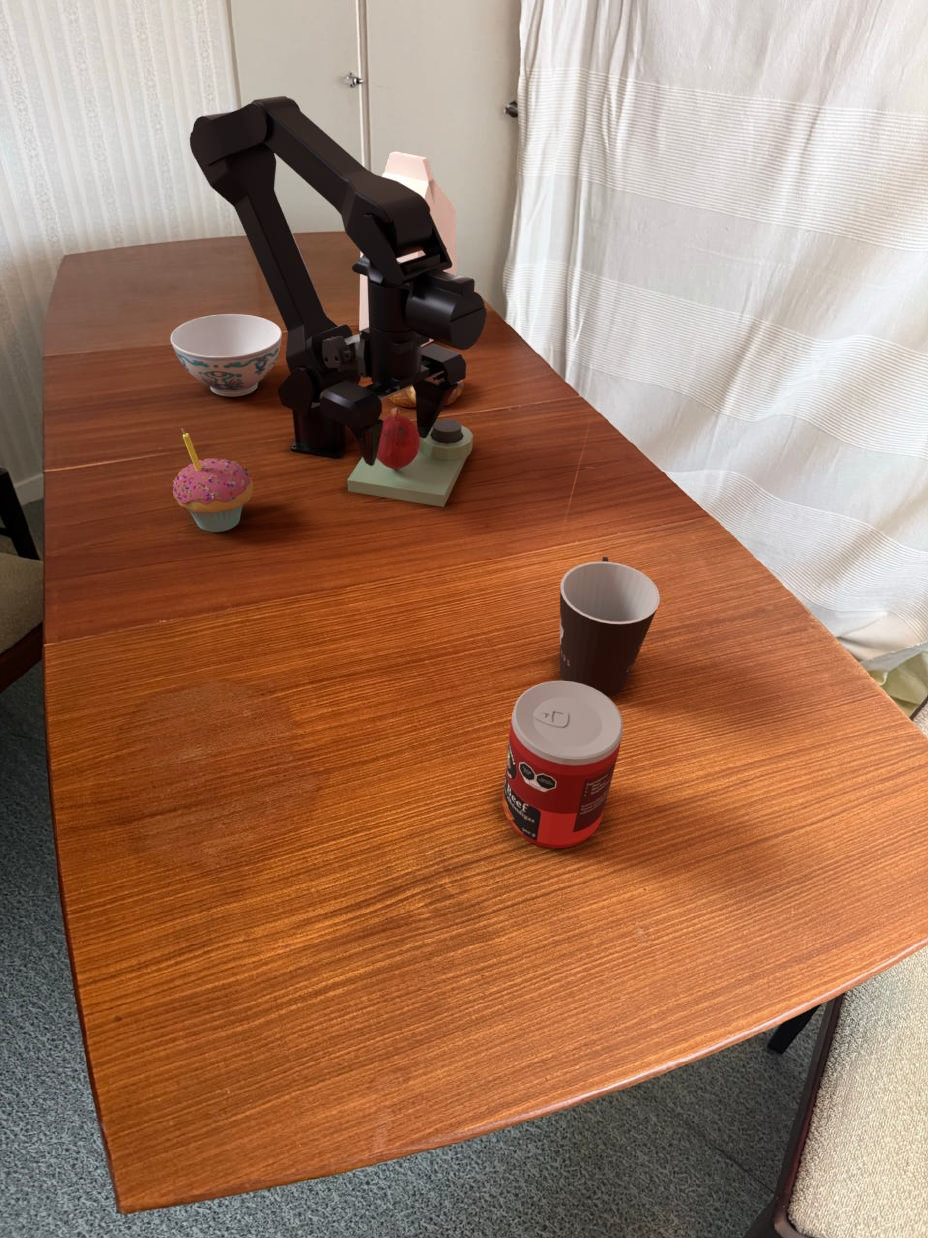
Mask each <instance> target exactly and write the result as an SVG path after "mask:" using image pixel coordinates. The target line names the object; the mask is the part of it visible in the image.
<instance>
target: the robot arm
mask: <svg viewBox="0 0 928 1238" xmlns="http://www.w3.org/2000/svg"><path fill="white" fill-rule="evenodd" d="M189 135H190V136H189V147H190V150H191V153H192V156H193V157H194V159H195V160H196V161H195V162H196V163H197V165H198V167H199V168H200V170H201V172H202V174H203V176H204V177H205V179H206V181H207V183H208V184H209V186H210V188H212V189H213V190H214V191H215V192H216V193H217V194H218V195H220V196H221V197H222V198H223V199H224V200H225V201H227V202H228V203H229V204H230V205H231V206H232V207H233V208H234V210H235V212H236V214H237V217H238V219H239V221H240V224H241V226H242V228H243V230H244V233H245V236H246V238H247V240H248V242H249V245H250V247H251V250H252V251H253V254H254V257H255V258H256V261H257V263H258V265H259V268H260V270H261V272H262V275H263V277H264V279H265V282H266V285H267V286H268V289H269V291H270V294H271V295H272V298H273V300H274V303H275V305H276V307H277V310H278V312H279V314H280V316H281V319H282V321H283V323H284V326H285V329H286V331H287V335H286V336H287V337H286V348H285V361H286V364H287V367H288V370H289V375H288V376H287V377H286V378H285V379H284V380H283V381H282V382H281V383H280V385H279V386H278V387H277V388H276V391H277V395H278V397H279V401H280V403H281V405H282V406H283V407H285V408H287V409H289V410H291V411H292V412H291V413H292V422H293V423H292V424H293V432H294V433H293V434H294V441H293V443H291V445H290V451H291V452H295V453H301V454H307V455H314V456H320V457H325V458H332V459H337V458H339V457H340V455H342V454H343V451H344V450H345V448H347V447H348V445H349V444H350V443H351V441H352V440H353V439H354V441H355V443H356V445H357V447H358V450H359V453H360V455H361V456H362V457H363V459H364V461H365V463H366V464H368V465H370V466H373V465H374V464H375V460H376V457H377V453H378V448H379V443H380V437H381V433H382V428H383V422H384V421H383V420H382V419H381V418H380V417H381V415H382V413H383V402H382V401H384V400H387V399H390V398H389V397H391V396H393V395H395V394H397V393H400V392H402V391H404V390H406V389H408V388H410V387H412V386H413V388H414V390H415V393H416V407H415V412H416V413H415V414H416V415H415V416H416V429H417V431H418V433H419V437H421V438H426V437H427V436H428V434H429V432H430V430H431V429H432V427H433V425H434V423H435V421H437V420H438V418H439V415H440V414H441V412H442V411H443V409H444V407H445V406H446V405H445V404H446V402H447V401H448V399H449V397H450V396H451V394H452V393H453V391H454V390H455V389H456V388H458V385H459V383H458V382H459V381H461V380H462V381H463V380H466V377H467V376H466V375H467V363H466V361H465V359H464V357H463V355H462V354H461V353H460V352H457V351H454V350H451V349H448V348H446V347H444V346H441V345H438V344H435V343H428V342H429V338H430V339H432V340H433V341H435V342H438V343H440V344H443V345H445V346H448V347H451V348H452V349H453V348H454V349H456V350H459V351H466V350H469V349H470V348H472V347H473V346H474V345H475V344H476V343H477V342H478V340H479V339H480V338H481V335H482V333H483V331H484V328H485V325H486V321H487V311H488V309H487V308H486V307H485V302H484V299H483V296H481V295H480V293H478V292H477V291H475V285H476V284H475V283H476V281H475V279H474V278H472V277H469V276H465V275H457V276H456V275H453V274H450V273H447V272H444V270H446V269H449V268H451V267H452V261H451V259H450V257H449V255H448V252H447V248H446V247H445V245H444V243H443V241H442V239H441V237H440V234H439V232H438V230H437V228H436V225H435V223H434V221H433V219H432V216H431V214H430V207H429V205H428V203H427V202H426V200H425V199H424V198H423V197H422V196H421V195H420V194H418V193H417V192H415V191H413V190H412V189H410V188H408V187H406V186H405V185H403V184H401V183H400V182H398V181H395V180H392V179H388V178H385V177H382V175H378V174H375V173H373V172H372V171H370V170H369V169H367V168H366V167H365V166H364V165H363V164H361V163H360V162H359V161H358V160H357V159H355V157H354V156H352V155H351V154H350V153H349V152H348V151H347V150H345V149H344V148H343V147H342V146H341V145H340V144H339V143H338V142H336V141H335V140H334V139H333V138H332V137H331V136H329V134H327V133H326V132H325V130H323V129H322V128H321V127H320V126H318V125H317V124H316V123H314V121H313V120H311V119H310V118H309V117H308V116H307V115H305V114H304V112H303V111H301V109H300V106H299V105H298V103H297V102H296V101H295V99H293V98H290V97H287V95H286V96H285V95H279V96H272V97H264V98H258V99H254V100H252V101H250V103H247V104H246V105H245V106H242V107H241V108H239V109H236V110H232V111H227V112H220V113H213V114H207V115H201V116H199V117H197V118H196V119H195V121H194V122H193V126H192V131H191V132H190V134H189ZM276 156H277V157H278V158H279V159H280V160H281V161H283V163H285V164H286V165H287V166H288V167H289V168H290V169H291V170H292V171H294V172H295V174H297V175H298V176H299V177H300V178H301V179H302V180H304V181H305V182H306V184H308V185H309V186H310V187H311V188H312V189H313V190H315V192H316V193H318V194H319V195H320V196H321V197H322V198H324V199H325V200H326V201H327V203H329V204H330V205H331V206H332V207H333V208H334V209H335V210H336V211H337V212H338V213H339V214H340V216H341V220H342V224H343V229H344V232H345V234H346V235H347V236H348V237H349V239H350V240H351V241H352V243H353V244H354V245H355V246H356V247H357V249H358V250H359V251H361V252H362V253H363V254H364V255H363V256H362V257H361V258H359V259H358V260H357V261H355V262H354V264H352V265H351V270H352V271H353V272H354V273H356V274H359V275H360V274H362V275H364V276H367V284H368V314H369V327H368V328H365V329H363V330H361V331H359V333H357V334H353V330H352V329H351V327H349V325H348V324H347V323H344V324H341V325H338V324H337V323H336V322H335V321H333V320H332V319H331V318H330V317H328V315H327V313H326V312H325V311H326V310H325V309H324V307H323V305H322V302H321V299H320V297H319V294H318V292H317V290H316V287H315V285H314V282H313V280H312V277H311V275H310V273H309V270H308V268H307V265H306V263H305V261H304V258H303V256H302V254H301V251H300V249H299V246H298V244H297V241H296V239H295V237H294V234H293V231H292V229H291V227H290V225H289V222H288V220H287V218H286V215H285V212H284V210H283V207H282V205H281V203H280V200H279V198H278V196H277V193H276V189H275V188H276V178H277V177H276V176H277V166H278V165H277V164H278V161H277V157H276ZM419 251H423V252H424V253H425V255H423V256H420V257H417V258H414V259H411V260H408V261H405V262H399V261H397V258H400V257H403V256H406V255H409V254H412V253H416V252H419ZM425 343H428V344H427V345H425V346H423V347H421V345H423V344H425ZM362 378H364V379H366V378H370V380H371V382H372V383H370V384H367V385H366V386H362V385H361V384H359V383H361V380H362Z"/></svg>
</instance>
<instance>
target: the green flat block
mask: <svg viewBox="0 0 928 1238" xmlns="http://www.w3.org/2000/svg"><path fill="white" fill-rule="evenodd" d="M473 443H474V435H473V433H472V432H471V430H470V429H469V428H467V427H465V426H463V425H461V439H460V441H458V442H456V443H447V444H446V443H440V442H437V441H435V440H433V427H432V429H431V430H430V432H429V434H428V436H427V437H426V438H421V437H420V446H419V451H418V454H417V456H416V457H415V458H414V460H413V461H412V462H411V463H410V464H408V465H407V466H405V467H402V468H400V469H398V470H393V469H391V468H389V467H386V466H385V465H383V464H382V463H381V462H380V461H379V460H378V459H377V458H376V460H375V464H374V465H373V466H370V465H368V464H366V463H365V461H364V459H363V456H362V457H361V458H360V459H359V461H358V463H357V464H356V466H355V467H354V469H353V470H352V472H351V474H350V475H349V477H348V478H347V492H349V493H357V494H364V495H369V496H374V497H380V498H382V497H383V498H387V499H393V500H398V501H399V500H400V501H406V502H411V503H417V504H423V505H429V506H435V507H441V508H444V507H445V505H446V504H447V501H448V499H449V497H450V495H451V492H452V490H453V488H454V486H455V484H456V482H457V480H458V477H459V475H460V473H461V472H462V469H463V466H464V464H465V462H466V461H467V458H468V456H469V455H471V452H472V450H473V446H474V445H473Z"/></svg>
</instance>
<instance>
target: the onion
mask: <svg viewBox="0 0 928 1238" xmlns="http://www.w3.org/2000/svg"><path fill="white" fill-rule="evenodd" d="M381 420H383V421H384V422H383V428H382V433H381V437H380V443H379V448H378V453H377V457H376V458H377V459H378V460H379V461H380V462H381V463H382V464H383V465H385V466H386V467H389V468H391V469H393V470H398V469H400V468H402V467H405V466H407V465H408V464H410V463H411V462H412V461H413V460H414V458H415V457H416V456H417V454H418V451H419V446H420V437H419V433H418V430H417V426H416V425H415V424H414V423H413V422H412V420H410V419H409V418H408V417H406V416H404V415H402V414H401V409H400V408H399V407H393V408H392V409H390V414H389V415H388V416H386V417H384V418H382V419H381Z"/></svg>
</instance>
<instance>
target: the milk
mask: <svg viewBox="0 0 928 1238" xmlns="http://www.w3.org/2000/svg"><path fill="white" fill-rule="evenodd" d="M381 176H382V177H385V178H388V179H392V180H395V181H398V182H400V183H401V184H403V185H405V186H406V187H408V188H410V189H412V190H413V191H415V192H417V193H418V194H420V195H421V196H422V197H423V198H424V199H425V200H426V202H427V203H428V205H429V207H430V214H431V216H432V219H433V221H434V223H435V225H436V228H437V230H438V232H439V234H440V237H441V239H442V241H443V243H444V245H445V247H446V248H447V252H448V255H449V257H450V259H451V261H452V267H451V268H449V269H446V270H444V272H447V273H450V274H453V275H456V276H458V275H457V274H458V273H457V272H458V271H457V216H456V209H455V207H454V205H453V203H452V201H451V200H450V198H449V197H448V196H447V195H446V193H445V192H444V191H443V190H442V188H441V187H440V186H439V184H438V183H437V182H436V181H435V180H434V175H433V171H432V168H431V164H430V161H429V158H428V157H426V156H421V155H415V154H410V153H406V152H401V151H392V152H390V153H389V155H388V158H387V162H386V164H385V168H384V172H383V173H382V175H381ZM359 251H360V250H359ZM359 253H360V256H359V257H360V258H361V257H362V256H363V255H364V254H363V253H362V252H361V251H360V252H359ZM423 255H425V253H424V252H423V251H419V252H416V253H412V254H409V255H406V256H403V257H400V258H397V261H399V262H405V261H408V260H411V259H414V258H417V257H420V256H423ZM360 258H359V259H360ZM358 319H359V320H358V321H359V322H358V323H359V324H358V326H359V329H358V330H359V332H361V330H363V329H365V328H368V327H369V314H368V284H367V276H364V275H362V274H359V318H358ZM433 342H434V340H432V339H430V338H429V342H428V343H425V344H423V345H421V348H423V347H425V346H427V345H429V344H431V343H433Z"/></svg>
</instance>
